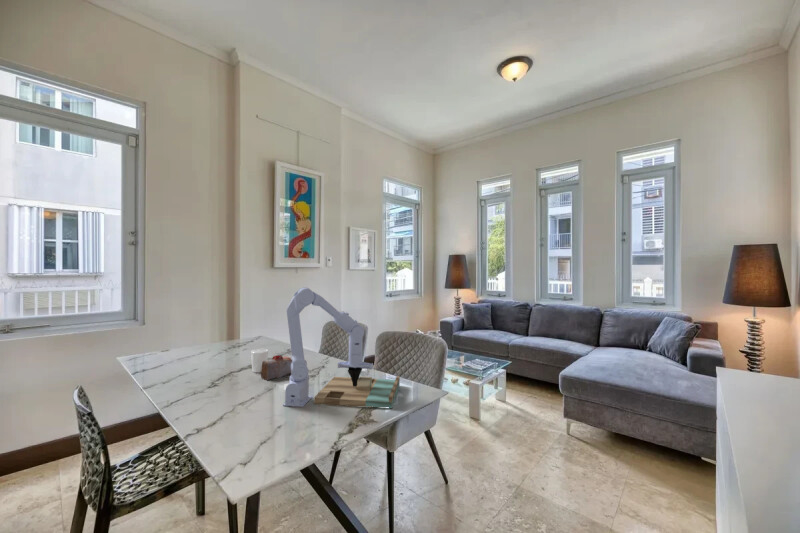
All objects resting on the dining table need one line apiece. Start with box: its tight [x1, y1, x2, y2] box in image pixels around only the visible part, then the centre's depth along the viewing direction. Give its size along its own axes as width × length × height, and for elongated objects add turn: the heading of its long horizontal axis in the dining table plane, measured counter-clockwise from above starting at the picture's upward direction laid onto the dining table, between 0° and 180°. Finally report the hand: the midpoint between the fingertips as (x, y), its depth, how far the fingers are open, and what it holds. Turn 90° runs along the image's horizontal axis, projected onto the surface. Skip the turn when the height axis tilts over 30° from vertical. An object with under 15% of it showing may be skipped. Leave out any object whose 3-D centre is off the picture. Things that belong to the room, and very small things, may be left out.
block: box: [357, 375, 373, 391], centre depth 134 cm, size 5×5×4 cm
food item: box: [260, 355, 292, 381], centre depth 156 cm, size 14×8×10 cm, turn 141°
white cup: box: [250, 348, 269, 374], centre depth 163 cm, size 8×8×10 cm
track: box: [313, 375, 401, 409], centre depth 135 cm, size 24×30×4 cm
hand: (355, 385), depth 135 cm, fingers closed
